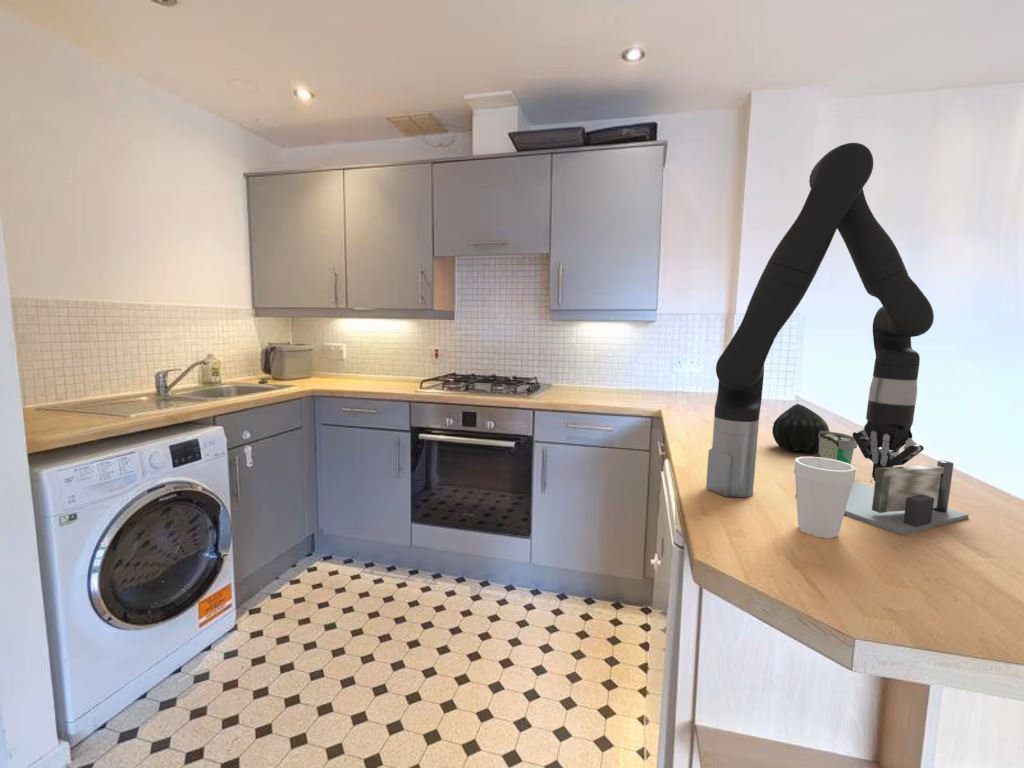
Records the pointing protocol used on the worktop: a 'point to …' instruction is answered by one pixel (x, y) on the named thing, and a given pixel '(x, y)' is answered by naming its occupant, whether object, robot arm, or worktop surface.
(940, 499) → the plaque display stand
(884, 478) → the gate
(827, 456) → the food container
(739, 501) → the worktop surface
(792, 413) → the squash
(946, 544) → the worktop surface
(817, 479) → the foam cup
